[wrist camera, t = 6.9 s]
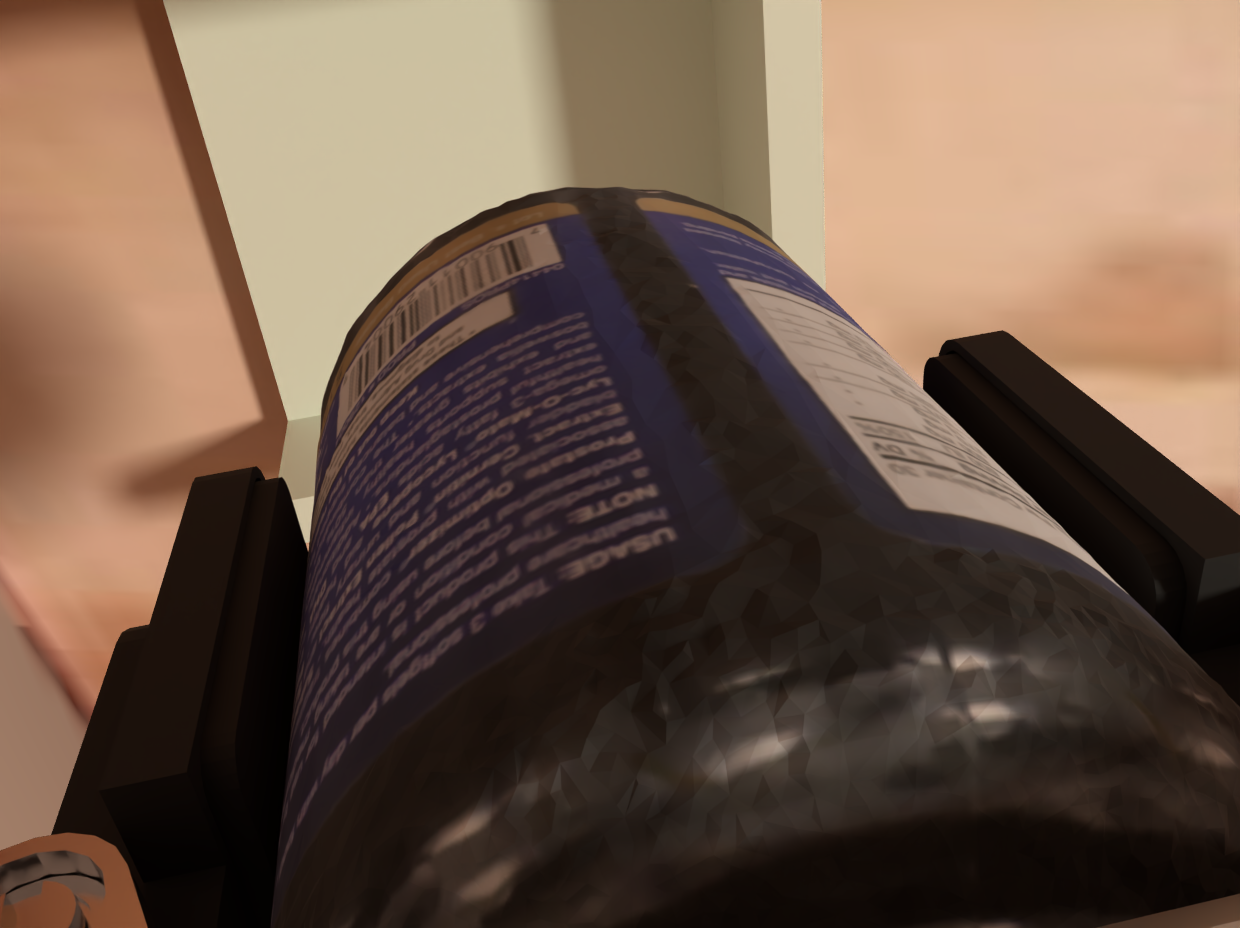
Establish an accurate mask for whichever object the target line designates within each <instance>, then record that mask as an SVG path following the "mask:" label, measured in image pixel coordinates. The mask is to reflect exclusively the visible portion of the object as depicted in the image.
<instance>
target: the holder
mask: <svg viewBox="0 0 1240 928" xmlns="http://www.w3.org/2000/svg"><path fill="white" fill-rule="evenodd" d="M163 2H164V5H165V9H166V12H167V15H168V19H169V22H170V26H171V29H172V32H173V36H174V39H175V42H176V46H177V49H178V52H179V56H180V59H181V63H182V66H183V69H184V73H185V76H186V79H187V83H188V86H189V89H190V93H191V96H192V100H193V103H194V106H195V110H196V113H197V116H198V120H199V123H200V126H201V130H202V133H203V137H204V140H205V143H206V147H207V150H208V153H209V157H210V160H211V163H212V167H213V170H214V174H215V177H216V180H217V184H218V187H219V190H220V194H221V197H222V200H223V204H224V207H225V211H226V214H227V217H228V221H229V224H230V227H231V231H232V234H233V237H234V241H235V244H236V248H237V251H238V254H239V258H240V261H241V264H242V268H243V271H244V274H245V278H246V281H247V285H248V288H249V291H250V295H251V298H252V301H253V305H254V308H255V311H256V315H257V318H258V322H259V325H260V328H261V332H262V335H263V338H264V342H265V345H266V348H267V352H268V355H269V359H270V362H271V365H272V369H273V372H274V375H275V379H276V382H277V385H278V389H279V392H280V396H281V399H282V402H283V406H284V409H285V412H286V416H287V419H288V424H287V430H286V436H285V441H284V447H283V453H282V459H281V465H280V471H279V477H282V478H283V479H284V480H285V482H286V484H287V486H288V489H289V491H290V495H291V498H292V501H293V504H294V508H295V511H296V514H297V517H298V521H299V524H300V527H301V530H302V534H303V537H304V540H305V543H308V542H310V530H311V521H312V512H313V504H314V494H315V475H316V461H317V448H318V442H319V438H320V427H321V407H322V401H323V397H324V393H325V390H326V387H327V384H328V381H329V378H330V376H331V373H332V371H333V369H334V366H335V364H336V361H337V359H338V356H339V354H340V351H341V349H342V346H343V343H344V340H345V338H346V335H347V333H348V331H349V330H350V328H351V327H352V325H353V324H354V322H355V321H356V319H357V318H358V317H359V316H360V315H361V314H362V312H363V311H364V310H365V308H366V307H367V306H368V304H369V303H370V302H371V301H372V300H373V299H374V298H375V297H376V296H377V294H378V293H379V292H380V291H381V290H382V289H383V287H384V286H385V285H386V284H387V282H388V281H389V280H390V279H391V278H392V277H393V276H394V275H395V274H396V273H397V272H398V271H399V270H400V269H401V268H402V267H403V266H404V265H405V264H406V263H407V262H408V261H409V260H410V259H411V258H412V257H413V256H414V255H415V254H416V253H417V252H418V251H419V250H420V249H421V248H422V247H424V246H425V245H426V244H427V243H429V242H430V241H431V240H433V239H434V238H435V237H437V236H439V235H441V234H443V233H445V232H447V231H449V230H451V229H453V228H454V227H456V226H458V225H459V224H461V223H463V222H465V221H467V220H468V219H470V218H472V217H474V216H476V215H477V214H479V213H480V212H482V211H485V210H487V209H491V208H495V207H498V206H500V205H502V204H503V203H505V202H507V201H510V200H514V199H519V198H521V197H523V196H526V195H528V194H531V193H537V192H543V191H549V190H554V189H559V188H564V187H580V188H607V187H624V188H629V189H643V190H666V191H669V192H673V193H677V194H680V195H684V196H688V197H690V198H692V199H695V200H697V201H700V202H703V203H706V204H709V205H712V206H714V207H717V208H719V209H721V210H723V211H726V212H728V213H731V214H735V215H738V216H739V217H741V218H743V219H745V220H747V221H749V222H751V223H752V224H754V225H755V226H756V227H758V228H759V229H760V230H762V231H763V232H764V233H766V234H767V235H768V236H769V237H770V238H771V239H772V240H773V241H774V242H775V243H776V244H777V245H778V246H779V247H780V248H781V249H782V250H783V251H784V252H785V253H786V254H787V255H788V256H789V257H790V258H791V259H792V260H793V261H794V262H795V263H796V264H797V265H799V266H800V267H801V268H802V269H803V270H804V271H805V272H806V273H807V274H808V275H809V276H810V277H811V278H812V279H813V280H814V281H815V282H816V283H817V284H818V285H819V286H820V287H821V288H822V289H823V290H824V291H825V292H826V280H825V215H824V150H823V85H822V20H821V0H163ZM279 477H278V478H279Z"/></svg>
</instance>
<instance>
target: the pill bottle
mask: <svg viewBox="0 0 1240 928" xmlns="http://www.w3.org/2000/svg"><path fill="white" fill-rule="evenodd" d="M1236 894H1240V707H1239V706H1238V705H1237V704H1236V703H1235V702H1234V701H1233V700H1232V699H1231V698H1230V697H1229V696H1228V695H1227V693H1226V692H1225V691H1224V689H1223V688H1222V687H1221V685H1219V684H1218V683H1217V682H1215V681H1214V680H1213V679H1212V678H1210V677H1209V676H1208V675H1207V674H1206V673H1205V671H1204V670H1203V669H1202V668H1201V667H1200V666H1199V665H1198V664H1197V663H1196V662H1195V661H1194V660H1193V659H1192V658H1191V657H1190V656H1189V655H1188V654H1187V653H1186V652H1185V651H1184V650H1183V649H1182V648H1181V647H1180V646H1179V645H1178V644H1177V642H1176V641H1175V640H1174V639H1173V638H1172V637H1171V636H1170V635H1169V633H1168V632H1167V631H1166V630H1165V629H1164V628H1163V627H1162V626H1161V625H1160V624H1159V623H1158V622H1157V621H1156V620H1155V619H1154V618H1153V617H1152V616H1151V615H1150V614H1149V613H1148V612H1147V611H1146V610H1145V609H1143V608H1142V607H1141V606H1140V605H1139V604H1138V603H1137V602H1136V601H1135V600H1134V599H1133V598H1132V597H1131V596H1130V595H1129V594H1128V593H1127V592H1126V591H1125V590H1124V589H1122V588H1121V587H1120V586H1119V585H1118V584H1117V583H1116V582H1115V581H1114V580H1113V579H1112V578H1111V577H1110V576H1109V575H1108V574H1107V573H1106V572H1105V571H1104V570H1103V569H1102V568H1101V567H1100V566H1099V565H1098V564H1097V563H1096V562H1095V560H1094V559H1093V558H1092V557H1091V556H1090V555H1089V554H1088V553H1087V552H1086V551H1085V550H1084V549H1083V548H1082V547H1081V546H1080V545H1079V544H1078V543H1077V542H1076V541H1075V540H1073V539H1072V538H1071V537H1070V536H1069V535H1068V534H1067V532H1066V531H1065V530H1064V529H1063V528H1062V527H1061V525H1059V524H1058V523H1057V522H1056V521H1055V520H1054V519H1053V518H1052V517H1051V516H1050V515H1048V514H1047V513H1046V512H1045V511H1044V510H1043V509H1042V508H1041V507H1040V506H1039V505H1038V504H1037V503H1036V502H1035V500H1034V499H1033V498H1032V497H1031V496H1030V495H1029V494H1028V493H1026V492H1025V491H1024V490H1023V489H1022V488H1021V487H1020V486H1019V485H1018V484H1017V483H1016V482H1015V481H1014V480H1013V479H1012V478H1011V477H1010V476H1009V475H1008V474H1007V473H1006V472H1005V471H1004V470H1003V469H1002V468H1001V467H1000V466H999V465H998V464H997V463H996V462H995V461H994V460H993V459H992V458H991V457H990V456H989V455H988V454H987V453H986V452H985V451H984V450H983V449H982V448H981V447H980V446H979V445H978V444H977V443H976V441H975V440H974V439H973V438H972V437H971V436H970V435H969V434H968V433H967V432H966V431H965V430H964V429H963V428H962V427H961V426H960V425H959V424H958V423H957V422H956V421H955V420H954V419H953V418H952V417H951V416H950V415H949V414H948V413H946V412H945V411H944V410H943V409H942V408H941V407H940V406H939V405H938V404H937V403H936V402H935V401H934V400H933V399H932V398H931V397H930V396H929V395H928V394H927V393H926V392H925V391H924V390H923V389H922V388H921V387H920V386H919V385H918V384H917V383H916V382H915V381H914V380H913V379H912V378H911V377H910V376H909V375H908V374H907V373H906V371H905V370H904V369H903V368H902V367H901V366H900V365H899V364H898V363H897V362H896V361H895V360H894V359H893V358H892V357H891V356H890V355H889V354H888V353H887V352H886V351H885V350H884V349H883V348H882V347H881V346H880V345H879V344H878V343H877V342H876V341H875V340H874V339H872V338H871V337H870V336H869V335H868V334H867V333H866V332H865V331H864V330H863V329H862V328H861V327H860V326H859V325H858V324H857V323H856V322H855V321H854V320H853V319H852V318H851V317H850V316H849V315H848V314H847V313H846V312H845V311H844V310H843V309H842V308H841V307H840V306H839V305H838V304H837V303H836V302H835V301H834V300H833V299H832V298H831V297H830V296H829V295H828V294H827V293H826V292H825V291H824V290H823V289H822V288H821V287H820V286H819V285H818V284H817V283H816V282H815V281H814V280H813V279H812V278H811V277H810V276H809V275H808V274H807V273H806V272H805V271H804V270H803V269H802V268H801V267H800V266H799V265H797V264H796V263H795V262H794V261H793V260H792V259H791V258H790V257H789V256H788V255H787V254H786V253H785V252H784V251H783V250H782V249H781V248H780V247H779V246H778V245H777V244H776V243H775V242H774V241H773V240H772V239H771V238H770V237H769V236H768V235H767V234H766V233H764V232H763V231H762V230H760V229H759V228H758V227H756V226H755V225H754V224H752V223H751V222H749V221H747V220H745V219H743V218H741V217H739V216H738V215H735V214H731V213H728V212H726V211H723V210H721V209H719V208H717V207H714V206H712V205H709V204H706V203H703V202H700V201H697V200H695V199H692V198H690V197H688V196H684V195H680V194H677V193H673V192H669V191H666V190H643V189H629V188H624V187H607V188H580V187H564V188H559V189H554V190H549V191H543V192H537V193H531V194H528V195H526V196H523V197H521V198H519V199H514V200H510V201H507V202H505V203H503V204H502V205H500V206H498V207H495V208H491V209H487V210H485V211H482V212H480V213H479V214H477V215H476V216H474V217H472V218H470V219H468V220H467V221H465V222H463V223H461V224H459V225H458V226H456V227H454V228H453V229H451V230H449V231H447V232H445V233H443V234H441V235H439V236H437V237H435V238H434V239H433V240H431V241H430V242H429V243H427V244H426V245H425V246H424V247H422V248H421V249H420V250H419V251H418V252H417V253H416V254H415V255H414V256H413V257H412V258H411V259H410V260H409V261H408V262H407V263H406V264H405V265H404V266H403V267H402V268H401V269H400V270H399V271H398V272H397V273H396V274H395V275H394V276H393V277H392V278H391V279H390V280H389V281H388V282H387V284H386V285H385V286H384V287H383V289H382V290H381V291H380V292H379V293H378V294H377V296H376V297H375V298H374V299H373V300H372V301H371V302H370V303H369V304H368V306H367V307H366V308H365V310H364V311H363V312H362V314H361V315H360V316H359V317H358V318H357V319H356V321H355V322H354V324H353V325H352V327H351V328H350V330H349V331H348V333H347V335H346V338H345V340H344V343H343V346H342V349H341V351H340V354H339V356H338V359H337V361H336V364H335V366H334V369H333V371H332V373H331V376H330V378H329V381H328V384H327V387H326V390H325V393H324V397H323V401H322V407H321V427H320V438H319V442H318V448H317V461H316V475H315V494H314V504H313V512H312V521H311V530H310V542H309V551H308V559H307V570H306V579H305V588H304V598H303V607H302V617H301V627H300V639H299V650H298V662H297V673H296V685H295V695H294V704H293V713H292V722H291V732H290V741H289V751H288V760H287V770H286V779H285V789H284V798H283V808H282V818H281V827H280V837H279V846H278V856H277V866H276V876H275V886H274V896H273V907H272V917H271V927H270V928H1097V927H1102V926H1106V925H1110V924H1114V923H1118V922H1123V921H1127V920H1131V919H1135V918H1139V917H1144V916H1148V915H1152V914H1156V913H1160V912H1165V911H1169V910H1173V909H1177V908H1182V907H1186V906H1190V905H1194V904H1198V903H1203V902H1207V901H1211V900H1215V899H1220V898H1224V897H1228V896H1232V895H1236Z"/></svg>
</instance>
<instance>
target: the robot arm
mask: <svg viewBox="0 0 1240 928" xmlns="http://www.w3.org/2000/svg"><path fill="white" fill-rule="evenodd" d="M923 390H924V391H925V392H926V393H927V394H928V395H929V396H930V397H931V398H932V399H933V400H934V401H935V402H936V403H937V404H938V405H939V406H940V407H941V408H942V409H943V410H944V411H945V412H946V413H948V414H949V415H950V416H951V417H952V418H953V419H954V420H955V421H956V422H957V423H958V424H959V425H960V426H961V427H962V428H963V429H964V430H965V431H966V432H967V433H968V434H969V435H970V436H971V437H972V438H973V439H974V440H975V441H976V443H977V444H978V445H979V446H980V447H981V448H982V449H983V450H984V451H985V452H986V453H987V454H988V455H989V456H990V457H991V458H992V459H993V460H994V461H995V462H996V463H997V464H998V465H999V466H1000V467H1001V468H1002V469H1003V470H1004V471H1005V472H1006V473H1007V474H1008V475H1009V476H1010V477H1011V478H1012V479H1013V480H1014V481H1015V482H1016V483H1017V484H1018V485H1019V486H1020V487H1021V488H1022V489H1023V490H1024V491H1025V492H1026V493H1028V494H1029V495H1030V496H1031V497H1032V498H1033V499H1034V500H1035V502H1036V503H1037V504H1038V505H1039V506H1040V507H1041V508H1042V509H1043V510H1044V511H1045V512H1046V513H1047V514H1048V515H1050V516H1051V517H1052V518H1053V519H1054V520H1055V521H1056V522H1057V523H1058V524H1059V525H1061V527H1062V528H1063V529H1064V530H1065V531H1066V532H1067V534H1068V535H1069V536H1070V537H1071V538H1072V539H1073V540H1075V541H1076V542H1077V543H1078V544H1079V545H1080V546H1081V547H1082V548H1083V549H1084V550H1085V551H1086V552H1087V553H1088V554H1089V555H1090V556H1091V557H1092V558H1093V559H1094V560H1095V562H1096V563H1097V564H1098V565H1099V566H1100V567H1101V568H1102V569H1103V570H1104V571H1105V572H1106V573H1107V574H1108V575H1109V576H1110V577H1111V578H1112V579H1113V580H1114V581H1115V582H1116V583H1117V584H1118V585H1119V586H1120V587H1121V588H1122V589H1124V590H1125V591H1126V592H1127V593H1128V594H1129V595H1130V596H1131V597H1132V598H1133V599H1134V600H1135V601H1136V602H1137V603H1138V604H1139V605H1140V606H1141V607H1142V608H1143V609H1145V610H1146V611H1147V612H1148V613H1149V614H1150V615H1151V616H1152V617H1153V618H1154V619H1155V620H1156V621H1157V622H1158V623H1159V624H1160V625H1161V626H1162V627H1163V628H1164V629H1165V630H1166V631H1167V632H1168V633H1169V635H1170V636H1171V637H1172V638H1173V639H1174V640H1175V641H1176V642H1177V644H1178V645H1179V646H1180V647H1181V648H1182V649H1183V650H1184V651H1185V652H1186V653H1187V654H1188V655H1189V656H1190V657H1191V658H1192V659H1193V660H1194V661H1195V662H1196V663H1197V664H1198V665H1199V666H1200V667H1201V668H1202V669H1203V670H1204V671H1205V673H1206V674H1207V675H1208V676H1209V677H1210V678H1212V679H1213V680H1214V681H1215V682H1217V683H1218V684H1219V685H1221V687H1222V688H1223V689H1224V691H1225V692H1226V693H1227V695H1228V696H1229V697H1230V698H1231V699H1232V700H1233V701H1234V702H1235V703H1236V704H1237V705H1238V706H1239V707H1240V515H1238V514H1237V513H1236V512H1235V511H1233V510H1232V509H1231V508H1230V507H1228V506H1227V505H1226V504H1225V503H1223V502H1222V501H1221V500H1219V499H1218V498H1217V497H1216V496H1214V495H1213V494H1212V493H1211V492H1209V491H1208V490H1207V489H1205V488H1204V487H1203V486H1202V485H1200V484H1199V483H1198V482H1197V481H1195V480H1194V479H1193V478H1192V477H1190V476H1189V475H1188V474H1186V473H1185V472H1184V471H1183V470H1181V469H1180V468H1179V467H1178V466H1176V465H1175V464H1174V463H1173V462H1171V461H1170V460H1169V459H1167V458H1166V457H1165V456H1164V455H1162V454H1161V453H1160V452H1159V451H1157V450H1156V449H1155V448H1154V447H1152V446H1151V445H1150V444H1148V443H1147V442H1146V441H1145V440H1143V439H1142V438H1141V437H1140V436H1138V435H1137V434H1136V433H1134V432H1133V431H1132V430H1131V429H1129V428H1128V427H1127V426H1126V425H1124V424H1123V423H1122V422H1121V421H1119V420H1118V419H1117V418H1115V417H1114V416H1113V415H1112V414H1110V413H1109V412H1108V411H1107V410H1105V409H1104V408H1103V407H1102V406H1100V405H1099V404H1098V403H1096V402H1095V401H1094V400H1093V399H1091V398H1090V397H1089V396H1088V395H1086V394H1085V393H1084V392H1083V391H1081V390H1080V389H1079V388H1077V387H1076V386H1075V385H1074V384H1072V383H1071V382H1070V381H1069V380H1067V379H1066V378H1065V377H1063V376H1062V375H1061V374H1060V373H1058V372H1057V371H1056V370H1055V369H1053V368H1052V367H1051V366H1050V365H1048V364H1047V363H1046V362H1044V361H1043V360H1042V359H1041V358H1039V357H1038V356H1037V355H1036V354H1034V353H1033V352H1032V351H1031V350H1029V349H1028V348H1027V347H1025V346H1024V345H1023V344H1022V343H1020V342H1019V341H1018V340H1017V339H1015V338H1014V337H1013V336H1012V335H1010V334H1009V333H1007V332H1005V331H1003V330H1002V331H996V332H991V333H985V334H980V335H974V336H969V337H963V338H958V339H952V340H947V341H946V342H945V343H944V344H943V345H942V347H941V350H940V353H939V356H938V357H932V358H929V359H928V361H927V362H926V365H925V368H924V377H923ZM307 559H308V550H307V547H306V543H305V540H304V537H303V534H302V530H301V527H300V524H299V521H298V517H297V514H296V511H295V508H294V504H293V501H292V498H291V495H290V491H289V489H288V486H287V484H286V482H285V480H284V479H283V478H282V477H279V478H274V479H269V480H265V478H264V476H263V474H262V472H261V470H260V469H259V468H258V467H257V466H256V467H251V468H245V469H240V470H234V471H229V472H223V473H218V474H212V475H207V476H201V477H196V478H195V479H194V481H193V483H192V486H191V490H190V493H189V496H188V499H187V503H186V506H185V509H184V513H183V516H182V519H181V522H180V526H179V529H178V532H177V535H176V539H175V542H174V545H173V549H172V552H171V555H170V558H169V562H168V565H167V568H166V572H165V575H164V578H163V581H162V585H161V588H160V591H159V595H158V598H157V601H156V604H155V608H154V611H153V614H152V617H151V621H150V624H149V625H144V626H139V627H134V628H129V629H127V630H126V631H124V632H122V633H121V635H120V637H119V639H118V641H117V643H116V645H115V648H114V651H113V654H112V657H111V660H110V663H109V666H108V669H107V672H106V675H105V678H104V681H103V684H102V687H101V690H100V692H99V695H98V698H97V701H96V704H95V707H94V710H93V713H92V716H91V719H90V722H89V725H88V728H87V731H86V734H85V737H84V740H83V743H82V746H81V748H80V752H79V755H78V758H77V761H76V763H75V766H74V769H73V772H72V775H71V778H70V781H69V784H68V787H67V790H66V793H65V796H64V799H63V801H62V804H61V807H60V810H59V813H58V816H57V819H56V822H55V825H54V829H53V831H52V834H51V835H50V836H43V837H37V838H33V839H30V840H28V841H25V842H22V843H20V844H17V845H14V846H11V847H9V848H6V849H3V850H1V851H0V928H270V927H271V917H272V907H273V896H274V886H275V876H276V866H277V856H278V846H279V837H280V827H281V818H282V808H283V798H284V789H285V779H286V770H287V760H288V751H289V741H290V732H291V722H292V713H293V704H294V695H295V685H296V673H297V662H298V650H299V639H300V627H301V617H302V607H303V598H304V588H305V579H306V570H307ZM1097 928H1240V894H1236V895H1232V896H1228V897H1224V898H1220V899H1215V900H1211V901H1207V902H1203V903H1198V904H1194V905H1190V906H1186V907H1182V908H1177V909H1173V910H1169V911H1165V912H1160V913H1156V914H1152V915H1148V916H1144V917H1139V918H1135V919H1131V920H1127V921H1123V922H1118V923H1114V924H1110V925H1106V926H1102V927H1097Z"/></svg>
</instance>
